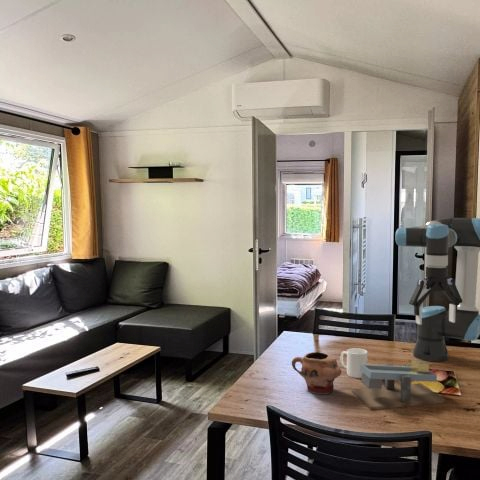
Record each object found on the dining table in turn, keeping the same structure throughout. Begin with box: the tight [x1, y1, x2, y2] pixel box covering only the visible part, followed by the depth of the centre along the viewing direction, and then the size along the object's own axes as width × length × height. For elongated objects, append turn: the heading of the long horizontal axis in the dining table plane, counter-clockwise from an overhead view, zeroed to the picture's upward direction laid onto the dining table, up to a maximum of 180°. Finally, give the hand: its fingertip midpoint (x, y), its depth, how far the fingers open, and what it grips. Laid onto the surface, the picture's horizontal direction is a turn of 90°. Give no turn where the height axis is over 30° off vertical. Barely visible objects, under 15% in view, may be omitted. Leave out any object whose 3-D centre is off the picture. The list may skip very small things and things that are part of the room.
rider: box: [410, 359, 430, 374], centre depth 178 cm, size 4×4×4 cm
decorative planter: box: [291, 351, 342, 395], centre depth 184 cm, size 20×12×14 cm, turn 65°
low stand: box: [351, 364, 447, 411], centre depth 177 cm, size 29×16×10 cm, turn 100°
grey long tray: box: [360, 363, 438, 389], centre depth 176 cm, size 26×9×6 cm, turn 101°
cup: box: [339, 347, 368, 379], centre depth 201 cm, size 8×12×10 cm
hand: (435, 322), depth 178 cm, fingers open, 13 cm apart
